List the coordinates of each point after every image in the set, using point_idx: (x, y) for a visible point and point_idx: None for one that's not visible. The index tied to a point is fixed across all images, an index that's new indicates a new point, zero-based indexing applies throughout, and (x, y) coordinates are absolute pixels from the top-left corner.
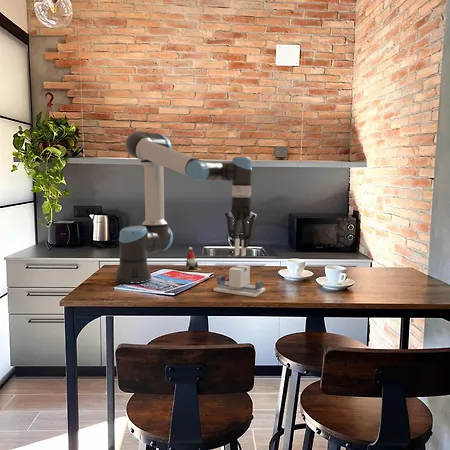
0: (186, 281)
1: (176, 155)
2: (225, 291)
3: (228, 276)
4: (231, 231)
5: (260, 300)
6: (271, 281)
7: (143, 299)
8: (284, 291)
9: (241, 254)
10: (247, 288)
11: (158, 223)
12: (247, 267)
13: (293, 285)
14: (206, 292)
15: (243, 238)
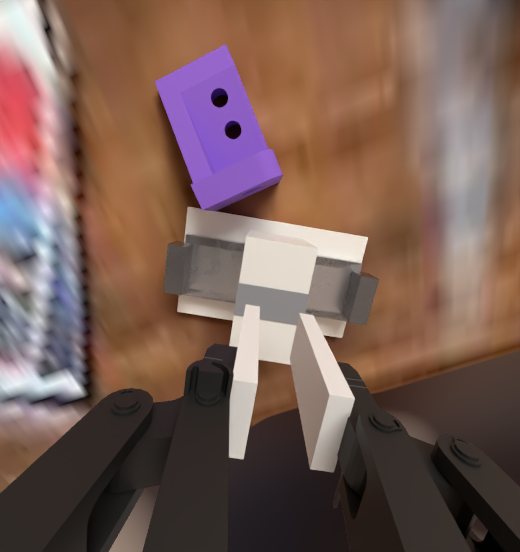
0: (14, 205)
1: None
2: (227, 318)
3: (163, 102)
4: (70, 475)
5: (362, 364)
6: (373, 51)
7: (32, 457)
8: (440, 222)
9: (292, 365)
10: (310, 314)
11: None
12: (310, 282)
13: (481, 98)
14: (165, 334)
15: (340, 489)
